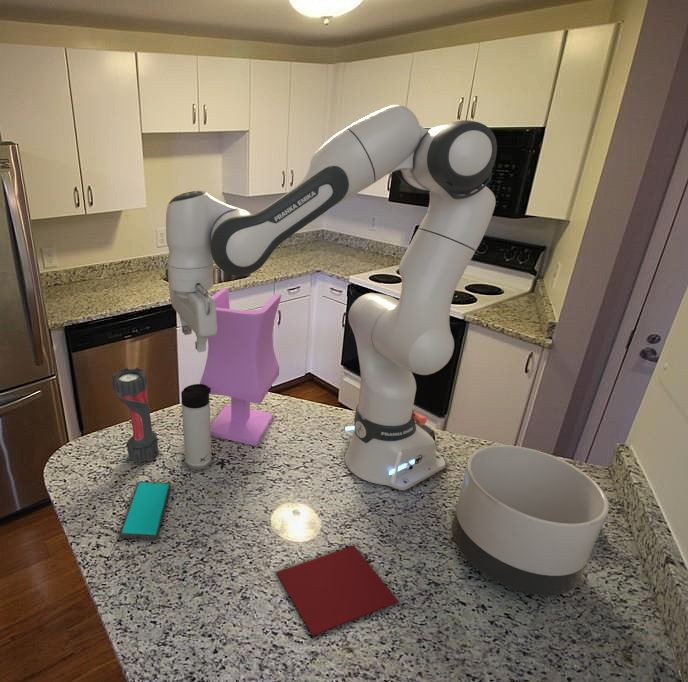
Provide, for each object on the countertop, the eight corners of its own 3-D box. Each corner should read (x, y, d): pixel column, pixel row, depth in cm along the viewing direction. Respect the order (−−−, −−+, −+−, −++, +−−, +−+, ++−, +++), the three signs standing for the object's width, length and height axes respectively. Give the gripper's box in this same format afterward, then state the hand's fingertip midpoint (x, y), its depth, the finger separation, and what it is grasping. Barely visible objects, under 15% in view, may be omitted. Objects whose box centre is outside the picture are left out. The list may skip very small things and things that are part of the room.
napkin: (353, 547, 86) (354, 545, 86) (398, 602, 76) (398, 600, 76) (276, 573, 82) (276, 571, 82) (312, 636, 71) (312, 634, 71)
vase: (277, 416, 127) (282, 294, 113) (259, 449, 114) (261, 316, 100) (224, 405, 133) (222, 287, 119) (201, 435, 120) (196, 307, 106)
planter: (450, 506, 95) (467, 434, 88) (565, 539, 87) (595, 462, 79) (445, 580, 80) (466, 500, 72) (585, 629, 71) (624, 544, 64)
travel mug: (210, 471, 107) (207, 396, 99) (182, 468, 108) (177, 394, 100) (215, 454, 112) (213, 382, 104) (188, 452, 114) (184, 380, 106)
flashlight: (116, 461, 111) (104, 377, 102) (136, 443, 117) (127, 362, 108) (141, 471, 108) (132, 385, 98) (161, 453, 114) (154, 370, 104)
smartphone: (119, 534, 90) (138, 481, 103) (120, 537, 90) (138, 484, 104) (157, 537, 89) (170, 483, 102) (157, 540, 89) (171, 486, 103)
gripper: (225, 290, 84) (225, 359, 89) (190, 264, 101) (193, 323, 107) (191, 294, 82) (194, 365, 88) (162, 267, 100) (166, 327, 105)
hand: (193, 341), depth 97 cm, fingers open, 8 cm apart
